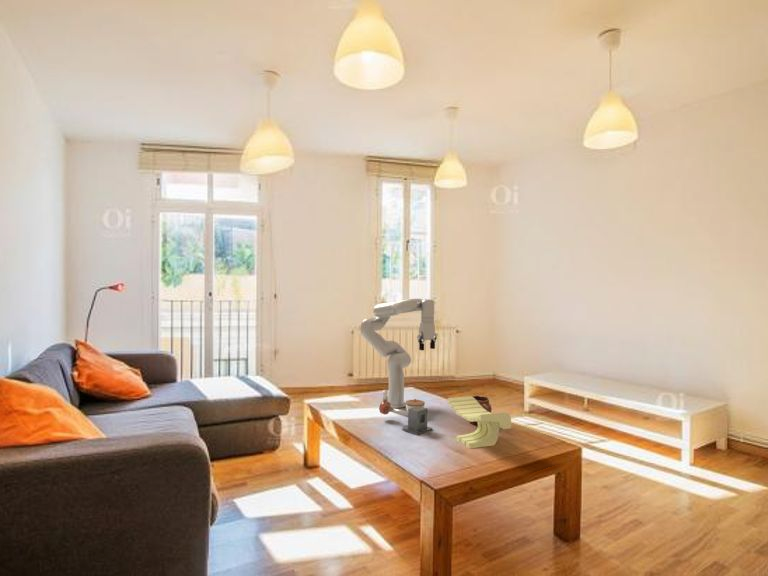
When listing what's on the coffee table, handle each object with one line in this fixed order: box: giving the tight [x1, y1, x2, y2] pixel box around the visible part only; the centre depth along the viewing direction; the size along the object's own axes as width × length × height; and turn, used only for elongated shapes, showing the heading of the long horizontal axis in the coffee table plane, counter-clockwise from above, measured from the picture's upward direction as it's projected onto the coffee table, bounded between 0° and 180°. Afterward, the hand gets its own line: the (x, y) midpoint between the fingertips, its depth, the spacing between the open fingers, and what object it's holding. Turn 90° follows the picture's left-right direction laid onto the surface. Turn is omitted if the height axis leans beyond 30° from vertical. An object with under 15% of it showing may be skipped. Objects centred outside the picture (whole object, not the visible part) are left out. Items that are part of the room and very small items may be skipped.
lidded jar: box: [405, 398, 426, 412], centre depth 255 cm, size 11×11×9 cm
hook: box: [378, 389, 408, 418], centre depth 240 cm, size 20×7×13 cm, turn 44°
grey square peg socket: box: [402, 406, 434, 436], centre depth 229 cm, size 10×12×11 cm
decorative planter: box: [468, 395, 493, 426], centre depth 242 cm, size 20×12×14 cm, turn 20°
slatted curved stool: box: [447, 395, 512, 449], centre depth 214 cm, size 30×16×18 cm, turn 20°
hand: (427, 349), depth 264 cm, fingers open, 9 cm apart
